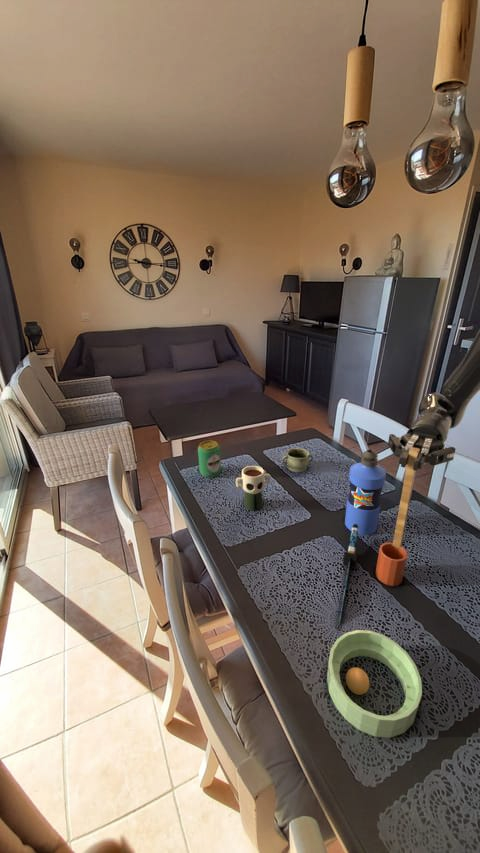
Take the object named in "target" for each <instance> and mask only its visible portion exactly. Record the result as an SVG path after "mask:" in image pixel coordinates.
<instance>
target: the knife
mask: <svg viewBox="0 0 480 853" xmlns="http://www.w3.org/2000/svg"><path fill="white" fill-rule="evenodd" d="M358 536H359V534H358V525H357V524H354V525H353V527H352V530H351V531H350V538H349V544H348V549H347V551H344V553H343V560H342V565H343V566H346V567H347V570H346V575H345V583H344V589H343V596H342V601H341V608H340V614H339V623H338V624H339V626H340V625H341V621H342V617H343V611H344V610H343V609H344V605H345V604H344V603H345V598H346V593H347V588H348V582H349V577H350V572H351V568H354V569H356V566H357V559H358V555H357V553H356V549H357V543H358V542H357V541H358Z"/></svg>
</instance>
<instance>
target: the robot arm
mask: <svg viewBox="0 0 480 853" xmlns="http://www.w3.org/2000/svg"><path fill="white" fill-rule="evenodd" d="M479 392H480V328H479V329H478V331H477V332H476V335H475V337H474V338H473V340H472V343H471V344H470V346H469V348H468V350H467V352H466V353H465V355H464V357H463V358H462V359H461V361H460V363H458V365H457V367H456V368H454V370H453V371H452V372H451V374H450V375H449V377H448V378H447V379H446V381H445V382H444V383H443V385H442V387H441V393H442V394H441V393H439V392H430V393H428V394H426V395H425V396H424V397H423V398H422V399H421V401H420V402H419V406H418V409H417V413H418V415H417V416H418V417H417V418H416V419H415V420H414V421H413V423H412V424H411V426H410V427H409V429H408V430H407V431H406V433H405V434H402V435H401V436H400V437H399V436H396V435H395V434H394V433H389V435H388V442H387V446H388V448H389V449H390V450H391V452H392V454H393V455H394V456H395V457H399V459H398V464H399V465H400V467H401V468H405V469H406V467H407V463H408V457H409V450H410V448H411V447H414V448H418V449H420V452H419V454H418V456H417V457H416V459H415V462H414V467H413V470H415V471H416V472H418V470H422V469H424V468H423V467H424V466H425V465H426V464H427V463H428V464H429V465H431V466H439V465H441V464H444V463H448V462H451V461H453V460H454V459H455V458H454V457H455V454H456V448H455V447H454V446H449V447H446V446H445V442H446V440H447V439H448V435H449V432H450V430H451V429H454V428H457V427H458V426H459V425H460V424H461V423H462V420H463V419H464V416H465V414H466V411H467V408H468V406H469V404H470V402H471V401H472V400H473V398H474V397H475V396H476V395H477V394H478V393H479Z"/></svg>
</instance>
